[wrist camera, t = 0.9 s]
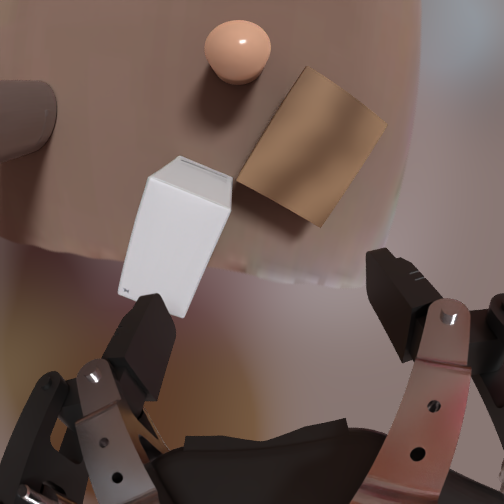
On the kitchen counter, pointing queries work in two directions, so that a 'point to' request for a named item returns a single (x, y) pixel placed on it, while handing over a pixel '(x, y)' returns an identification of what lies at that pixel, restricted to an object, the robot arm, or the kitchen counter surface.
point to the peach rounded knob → (237, 51)
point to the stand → (312, 147)
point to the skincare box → (176, 233)
